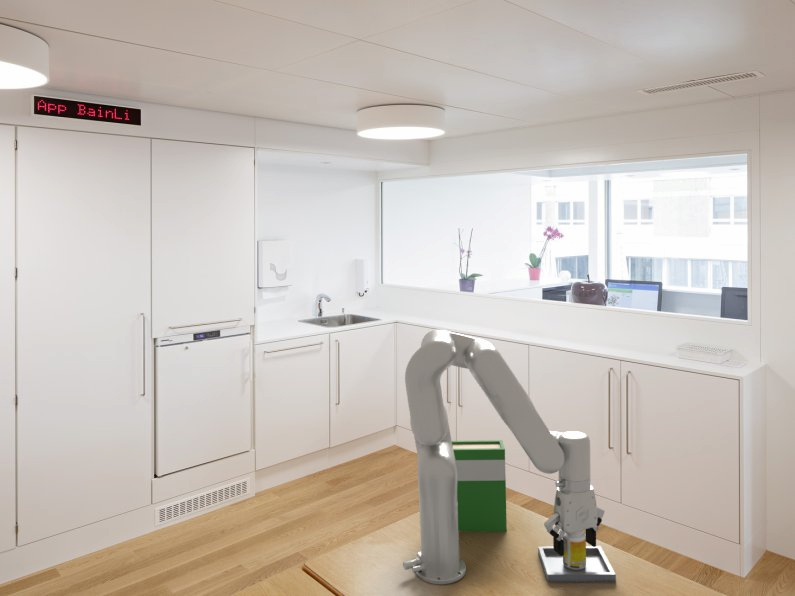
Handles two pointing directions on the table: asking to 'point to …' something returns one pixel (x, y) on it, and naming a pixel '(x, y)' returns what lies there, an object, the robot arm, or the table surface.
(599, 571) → the tray
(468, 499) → the hardback book
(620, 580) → the table surface
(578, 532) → the supplement bottle
